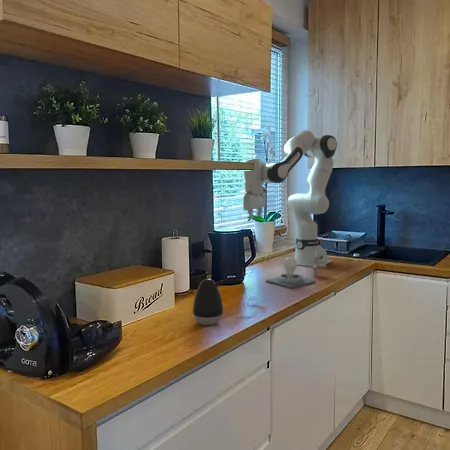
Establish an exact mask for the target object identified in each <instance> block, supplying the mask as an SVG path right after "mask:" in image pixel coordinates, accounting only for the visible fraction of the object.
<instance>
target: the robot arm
mask: <svg viewBox="0 0 450 450" xmlns="http://www.w3.org/2000/svg"><path fill="white" fill-rule="evenodd" d="M337 147H338V141H337V138H336V137H335V136H333V135H330V134H324V135H317V136H315V135H314V133H313V132H312V131H310V130H309V129H305V130H302V131H299V132H298V133H297V134H295V135H293V136H292V137H291V138H290V139H288V140H287V142H286V143H285V145H284V147H283V152H284V154H285V157H284V159H282V160H281V161H279V162H275V163H266V162H263V160H261V159H260V158H259V157H253V158H249V159H247V160H245V161H244V163H245V162H246V163H254V170H251V171H244V170H243V176H244V180H245V181H244V191H245V192H244V195H243V198H242V199H243V200H242V202H243V203H242V204H243V210H244V211H247V214H248V215H249V219H250V220H252V219H254V218H255V216H254V214H253V212H254V210H256V209H257V213H256V215H257V217H259V218H260V217H262V213H263V212H262V211H263V208H264V207H266V205H267V199H266V198H267V197H266V193H267V189H266V188H265V187H264V186H263V184H273V183H276V184H281V183H283V182H284V181H286V179H287V177H288V176H289V173H290V172H291V170H293V168H294V167H296V165H297V164H298V163H299V162H300V160H301V159H302V158H303V156H305V157H307V158H314V164H313V165H312V167H311V169H310V171H309V174H308V176H307V179H306V185H307V187H308V188H309V190H308V192H307V193H305V192H304V193H301V192H298V193H293V194H291V195H289V196H288V198H287V207H288V209H289V210H290V211H291V213H292V214H293V217H294V219H295V223H296V237H295V238H296V239H295V244H296V246H295V251H294V257H293V258H294V259H295V260H296V261H297V266H303V267H305V264H314V256H318V264H324V265H327V264H331V263H332V260H331V259H329V258H328V253H327V250H325V249H324V248H323V247H322V246H321V245H320V243H323V239H322V238H318V224H317V222H316V221H315V220H313V217H312V215H320V214H321V215H322V214H325V213H326V212H327V211H328V209H329V206H330V201H329V198H328V197H327V195H326V188H327V185H328V182H329V180H330V177H331V176H332V175H331V174H332V173H333V167H334V164H335V162H334V161H335V160H334V159H333V158H332V157H334V156H335V154H336V153H335V152H336V150H337Z"/></svg>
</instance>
